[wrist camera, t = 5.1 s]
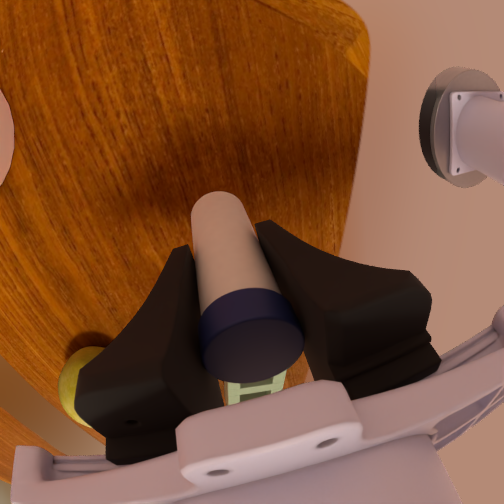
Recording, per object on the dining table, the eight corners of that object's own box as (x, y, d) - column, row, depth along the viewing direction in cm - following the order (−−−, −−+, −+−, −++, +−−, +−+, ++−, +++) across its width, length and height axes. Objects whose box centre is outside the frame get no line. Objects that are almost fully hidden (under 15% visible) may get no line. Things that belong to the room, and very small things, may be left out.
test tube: (240, 180, 14) (300, 302, 8) (253, 232, 16) (309, 366, 9) (179, 198, 14) (185, 337, 7) (198, 249, 16) (219, 393, 9)
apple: (157, 353, 29) (159, 423, 23) (110, 388, 31) (107, 448, 25) (92, 314, 25) (78, 388, 19) (53, 357, 27) (40, 420, 21)
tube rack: (221, 304, 28) (226, 329, 25) (287, 297, 29) (297, 320, 26) (224, 395, 36) (228, 416, 33) (272, 388, 37) (278, 408, 35)
